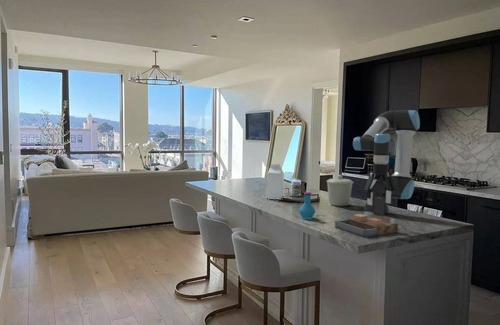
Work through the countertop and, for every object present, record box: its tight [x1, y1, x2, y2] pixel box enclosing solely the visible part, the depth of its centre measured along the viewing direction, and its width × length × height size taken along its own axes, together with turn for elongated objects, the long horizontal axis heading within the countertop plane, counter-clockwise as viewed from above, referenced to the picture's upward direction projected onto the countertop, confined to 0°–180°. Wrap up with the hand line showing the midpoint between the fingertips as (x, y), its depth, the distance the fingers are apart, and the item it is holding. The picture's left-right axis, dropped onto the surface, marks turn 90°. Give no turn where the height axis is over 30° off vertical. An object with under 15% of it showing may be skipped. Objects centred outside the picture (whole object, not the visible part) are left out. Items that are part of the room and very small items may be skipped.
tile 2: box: [368, 218, 382, 226], centre depth 191 cm, size 5×5×2 cm
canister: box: [326, 174, 354, 207], centre depth 262 cm, size 18×18×21 cm
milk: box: [264, 163, 285, 200], centre depth 284 cm, size 12×12×26 cm
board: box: [347, 217, 399, 236], centre depth 198 cm, size 15×20×4 cm
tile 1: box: [352, 213, 367, 221], centre depth 200 cm, size 5×5×2 cm
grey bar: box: [363, 197, 396, 225], centre depth 199 cm, size 3×18×12 cm, turn 29°
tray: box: [334, 219, 378, 238], centre depth 192 cm, size 8×21×4 cm, turn 29°
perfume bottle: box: [298, 191, 316, 220], centre depth 220 cm, size 9×9×15 cm
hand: (379, 203), depth 199 cm, fingers open, 13 cm apart
